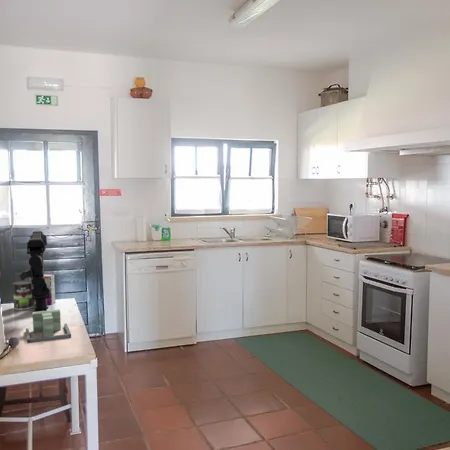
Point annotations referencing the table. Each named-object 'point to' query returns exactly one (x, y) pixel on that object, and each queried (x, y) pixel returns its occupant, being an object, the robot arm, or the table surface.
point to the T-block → (46, 322)
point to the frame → (48, 336)
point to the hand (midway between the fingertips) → (38, 294)
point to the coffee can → (22, 295)
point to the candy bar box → (51, 285)
